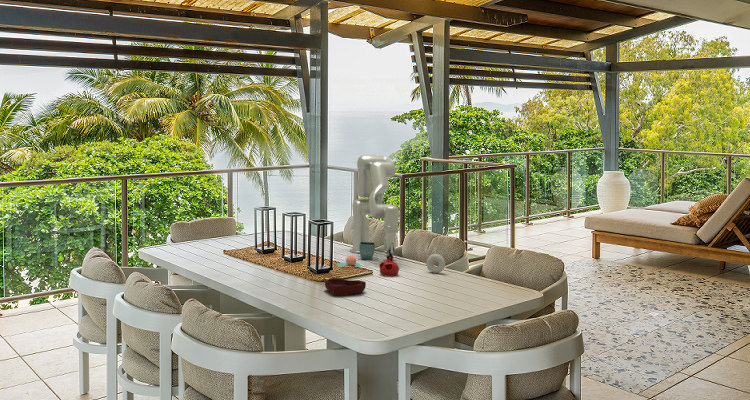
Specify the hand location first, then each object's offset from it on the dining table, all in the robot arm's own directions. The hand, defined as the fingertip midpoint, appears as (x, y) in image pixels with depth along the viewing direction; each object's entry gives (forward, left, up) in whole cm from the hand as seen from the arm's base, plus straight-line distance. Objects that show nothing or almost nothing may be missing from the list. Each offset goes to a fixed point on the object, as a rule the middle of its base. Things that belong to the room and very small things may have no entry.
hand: (389, 263), depth 356 cm
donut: (+18, +21, -2) cm, 28 cm away
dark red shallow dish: (+61, -30, -2) cm, 68 cm away
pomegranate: (+23, -4, -2) cm, 23 cm away
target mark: (0, -22, -2) cm, 22 cm away
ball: (0, -21, +1) cm, 21 cm away
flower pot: (-19, -10, -2) cm, 22 cm away
